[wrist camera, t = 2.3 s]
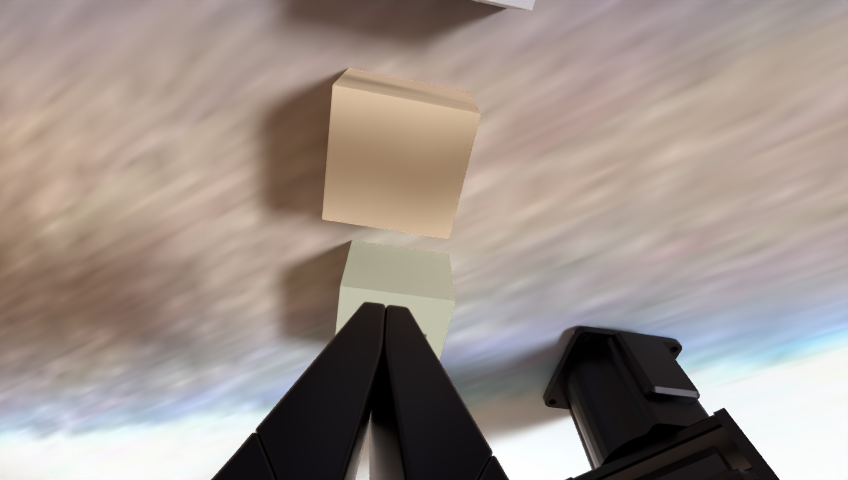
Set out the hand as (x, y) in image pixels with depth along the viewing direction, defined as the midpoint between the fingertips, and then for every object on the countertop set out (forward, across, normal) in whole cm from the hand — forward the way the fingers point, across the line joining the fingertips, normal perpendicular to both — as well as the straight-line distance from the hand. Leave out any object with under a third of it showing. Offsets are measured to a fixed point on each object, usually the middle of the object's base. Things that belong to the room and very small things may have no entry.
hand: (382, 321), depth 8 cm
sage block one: (+12, -1, +8) cm, 15 cm away
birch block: (+12, 0, 0) cm, 12 cm away
